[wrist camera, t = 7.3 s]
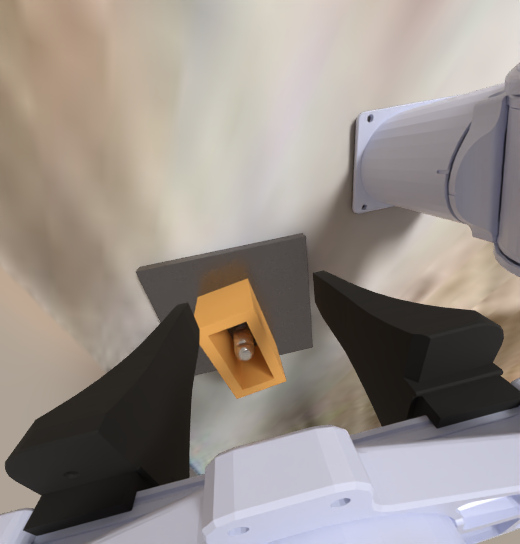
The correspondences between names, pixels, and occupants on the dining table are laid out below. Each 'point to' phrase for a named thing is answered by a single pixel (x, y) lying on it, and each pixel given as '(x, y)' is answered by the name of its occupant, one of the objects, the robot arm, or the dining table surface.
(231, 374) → the orange hollow rectangular block
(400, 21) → the dining table surface
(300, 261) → the keeper plate
